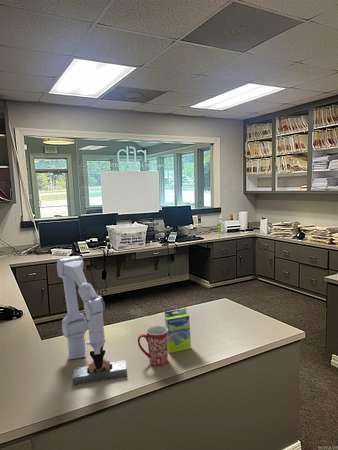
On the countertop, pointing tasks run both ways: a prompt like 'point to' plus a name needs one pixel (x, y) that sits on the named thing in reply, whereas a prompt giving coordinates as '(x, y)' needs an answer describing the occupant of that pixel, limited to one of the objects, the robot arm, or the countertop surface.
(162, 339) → the mug
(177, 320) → the box
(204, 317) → the countertop surface
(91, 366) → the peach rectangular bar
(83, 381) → the gray slotted board
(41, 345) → the countertop surface
